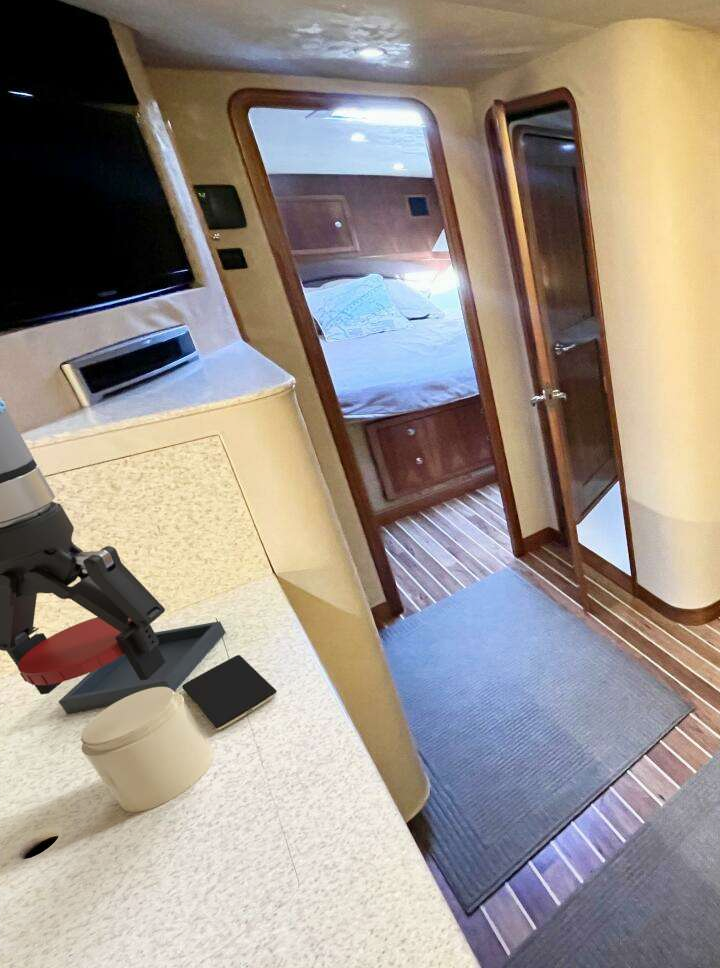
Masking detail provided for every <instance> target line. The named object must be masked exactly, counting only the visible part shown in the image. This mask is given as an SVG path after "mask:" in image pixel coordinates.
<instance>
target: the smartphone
mask: <svg viewBox="0 0 720 968" xmlns="http://www.w3.org/2000/svg"><path fill="white" fill-rule="evenodd" d="M182 690H183V692H184V693H185V694H186V695H187V697H188V698H189V699H190V700H191V701H192V702H193V703H194V705H195V707H197V708H198V709H199V711H200V712H201V714H202V715H203V716H204V717H205V718H206V719H207V720H208V722H209V723H210V725H212V727H213V728H214V729H215V730H216V731H220V730H222V729H224V728H226V727H227V726H229V725H231V724H233V723H235V722H236V721H238V720H240V719H242V718H243V717H245V716H247V715H248V714H250V713H252V712H253V711H254V710H256V709H258V708H259V707H261V706H263V705H264V704H265V703H267V702H268V701H270V700H271V699H273V698H274V697H275V696H277V695H278V691H277V689H276V688H275V687H274V686H273V685H272V684H270V683H269V682H268V680H266V679H265V678H264V677H263V676H262V675H261V674H260V673H259V672H258V671H257V670H256V669H255V668H254V667H253V666H252V665H251V664H250V663H249V662H247V660H245V658H244V657H242V655H240V654H237V655H234V656H233V657H231V658H229V659H227V660H225V661H223V662H221V663H220V664H218V665H216V666H213V667H212V668H209V669H208V670H207V671H204V672H203V673H201V674H199V675H197V676H196V677H194V678H192V679H190V680H188V681H187V682H185V683H183V684H182Z"/></svg>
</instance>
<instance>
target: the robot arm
mask: <svg viewBox="0 0 720 968" xmlns="http://www.w3.org/2000/svg"><path fill="white" fill-rule="evenodd" d="M55 499H56V495H55V493H54V491H53V490H52V488H51V486H50V484H49V483H48V481H47V479H46V478H45V475H44V474H43V472H42V470H41V468H40V467H39V465H38V464H37V462H36V461H35V457H34V456H33V454H32V452H31V451H30V449H29V447H28V445H27V443H26V441H25V440H24V438H23V436H22V434H21V432H20V430H19V429H18V427H17V425H16V423H15V422H14V419H13V418H12V416H11V415H10V413H9V411H8V409H7V404H6V401H5V400H3V398H2V397H1V396H0V651H3V652H6V653H7V654H8V655H9V657H10V659H11V660H12V661H13V662H14V664H15V666H16V667H17V668H18V663H19V661H20V660H21V659H22V657H23V656H24V655H25V654H26V653H27V652H28V651H30V650H31V649H32V648H34V647H35V646H36V645H38V644H39V643H41V642H42V641H44V640H46V639H47V638H48V637H47V636H46V635H45V634H44V632H41V633H36V632H37V631H38V630H39V629H40V627H37V626H34V623H35V613H36V605H37V597H38V594H53V595H54V596H55V597H57V598H59V599H61V600H71V601H72V602H74V603H76V604H77V605H79V606H80V607H82V608H83V609H85V610H86V611H88V612H90V614H93V615H94V616H96V617H99V618H100V619H102V620H103V621H105V622H106V623H108V624H109V625H111V626H112V627H114V628H115V629H117V630H118V631H120V632H122V633H120V634H119V635H118V636H117V637H115V639H116V640H117V642H118V644H119V645H120V647H121V649H122V650H123V652H124V654H125V655H126V657H127V659H128V660H129V662H130V664H131V665H132V667H133V669H134V670H135V672H136V674H137V675H138V677H139V679H140V680H148V679H149V678H150V677H151V676H152V675H153V674H154V673H155V672H156V671H157V670H158V669H159V668H160V667H161V666H162V665H163V664H164V663H165V662H166V661H165V660H164V658H163V656H162V654H161V653H160V651H159V649H158V647H157V644H159V640H158V638H157V637H156V634H155V632H156V631H154V629H153V627H152V626H151V624H153V622H155V621H156V620H157V619H158V618H159V617H160V616H162V615H163V614H164V613H165V612H166V608H165V607H164V606H163V605H162V604H161V603H160V602H159V601H158V599H157V598H155V596H153V594H152V593H151V592H150V591H149V590H148V589H147V588H146V587H145V585H143V583H142V582H140V581H139V580H138V579H137V577H135V575H134V574H133V573H132V572H131V571H130V570H129V569H128V568H127V567H126V566H125V565H124V564H123V562H122V560H121V558H120V556H119V553H118V550H117V549H116V548H115V547H114V546H111V545H106V546H105V547H103V548H101V549H99V550H97V551H95V550H93V551H92V550H91V551H84V550H83V549H82V548H80V547H78V546H77V545H76V544H75V543H74V542H73V540H72V539H73V534H74V531H75V527H74V525H73V523H72V522H71V520H70V518H69V516H68V515H67V513H66V511H65V510H64V508H63V506H62V504H61V503H59V502H55V501H54V500H55ZM78 578H79V579H80V581H78V582H77V583H75V584H73V583H74V582H75V581H76V580H78ZM71 584H73V585H71ZM70 585H71V586H70ZM128 618H130V619H131V620H130V621H128ZM34 633H35V634H34ZM32 634H33V635H32ZM31 635H32V636H31ZM62 683H63V682H59V683H55V684H49V685H34V687H35V688H36V690H37V692H38V693H39V694H40V695H49V694H50V693H51V692H52V691H54V690H55V689H56V688H57V687H59V685H61V684H62Z"/></svg>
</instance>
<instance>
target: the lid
mask: <svg viewBox="0 0 720 968" xmlns="http://www.w3.org/2000/svg"><path fill="white" fill-rule="evenodd" d="M130 620H131V619H130V618H128V621H130ZM120 633H122V632H120V631H118V630H117V629H115V628H114V627H112V626H111V625H109V624H108V623H106V622H105V621H103V620H102V619H100V618H99V617H97V616H96V617H93V618H90V619H87V620H84V621H81V622H78V623H77V624H74V625H72V626H69V627H67V628H64V629H63V630H60V631H58V632H56V633H55V634H53V635H51V636H49V637H46V638H47V639H46V640H44V641H42V642H41V643H39V644H38V645H36V646H35V647H34V648H32V649H31V650H30V651H28V652H27V653H26V654H25V655H24V656H23V657H22V659H21V660H20V661H19V663H18V667H17V670H18V672H19V675H20V676H21V678H22V679H23V681H24V682H26V683H28V684H30V685H31V686H35V685H49V684H55V683H59V682H62V683H64V682H67V681H70V680H74V679H76V678H79V677H81V676H84V675H88V674H89V673H90V672H92V671H94V670H96V669H98V668H101V667H103V666H105V665H107V664H108V663H110V662H112V661H114V660H116V659H117V658H119V657H121V656H122V655H124V652H123V650H122V649H121V647H120V645H119V644H118V642H117V640H116V639H115V637H117V636H118V635H119V634H120Z"/></svg>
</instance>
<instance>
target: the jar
mask: <svg viewBox="0 0 720 968" xmlns="http://www.w3.org/2000/svg"><path fill="white" fill-rule="evenodd" d="M80 741H81V752H82V754H83V755H84V757H85V758H86V759H87V761H88V762H89V764H90V765H91V767H92V768H93V769H94V771H95V772H96V773H97V775H98V777H99V778H100V779H101V781H102V782H103V783H104V785H105V787H106V788H107V790H109V792H110V793H111V795H112V796H113V798H114V799H115V801H116V802H117V803H118V805H119V806H120V808H122V810H124V811H126V812H129V813H138V812H139V813H140V812H144V811H149V810H151V809H153V808H154V809H155V808H157V807H160V806H162V805H164V804H166V803H168V802H169V801H171V800H173V799H175V798H177V797H178V796H179V795H181V794H183V793H184V792H185V791H187V790H189V789H190V788H191V787H193V785H194V784H196V783H197V782H198V781H199V780H200V779H201V778H202V777H203V776H204V775H205V774H206V772H207V771H208V770H209V769H210V766H211V765H212V763H213V761H214V758H215V750H214V748H213V746H212V745H211V743H210V741H209V740H208V737H207V736H206V735H205V733H204V731H203V729H202V727H201V726H200V724H199V723H198V720H197V719H196V717H195V715H194V714H193V712H192V710H191V709H190V707H189V705H188V703H187V701H186V700H185V698H184V697H183V695H182V694H181V693H179V692H176V691H173V690H172V689H170V688H168V687H155V688H150V689H146V690H142V691H140V692H137V693H134V694H132V695H129V696H127V697H125V698H123V699H121V700H119V701H117V702H116V703H114V704H112V705H111V706H106V707H105V708H104V709H103V710H101V711H100V712H98V713H97V714H96V715H95V716H94V717H92V719H91V720H90V721H89V722H88V723H87V724H86V725H85V727H84V728H83V730H82V732H81V738H80Z"/></svg>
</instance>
